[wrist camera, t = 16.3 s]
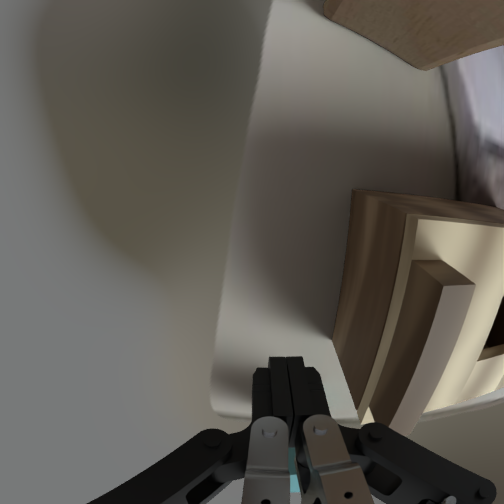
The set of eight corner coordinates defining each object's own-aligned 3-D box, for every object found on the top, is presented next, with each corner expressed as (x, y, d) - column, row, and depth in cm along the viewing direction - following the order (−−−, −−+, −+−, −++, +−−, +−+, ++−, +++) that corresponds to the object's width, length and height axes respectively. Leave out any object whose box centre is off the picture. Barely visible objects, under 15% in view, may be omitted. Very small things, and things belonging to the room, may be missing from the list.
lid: (560, 232, 13) (593, 249, 9) (509, 375, 18) (530, 401, 14) (406, 213, 13) (454, 237, 9) (356, 412, 18) (371, 457, 14)
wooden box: (496, 207, 22) (558, 232, 13) (466, 328, 26) (508, 374, 18) (352, 189, 22) (405, 212, 13) (331, 340, 26) (356, 410, 18)
